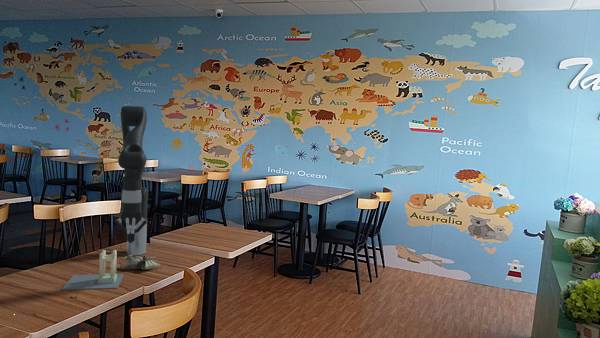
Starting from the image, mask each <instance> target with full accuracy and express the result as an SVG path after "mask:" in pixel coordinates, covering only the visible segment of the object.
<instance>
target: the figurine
mask: <svg viewBox="0 0 600 338" xmlns="http://www.w3.org/2000/svg"><path fill="white" fill-rule="evenodd" d="M155 258H156V255H155V256H151V257H148V256H146V255H144V256H143V257H142V256H141V255H129V254H127V256H124V257H123V258H122V259H123V260H124V261H129V262H127V263H125V264H121V263H119V265H120V267H119V268H120V269H122V270H135V269H137V270H140V269H141V270H142V271H149V270H153V269H155V268H156V269H157V268H159V267H162V266H163V264H162V263H159V262H157V261H156V260H154V259H155Z"/></svg>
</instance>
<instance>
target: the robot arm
mask: <svg viewBox="0 0 600 338" xmlns="http://www.w3.org/2000/svg"><path fill="white" fill-rule="evenodd" d="M147 116H148V114H147V109H146V108H145V107H144V106H137V105H123V106H122V107H121V108H120V122H121V132H122V151H120V153H119V155H118V160H117V162H118V166H119V167H120V168H121V169H123V170H124V176H123V177H122V192H121V214H120V216H119V218H118V219H115V220H114V224H115V225H116V226H117V228H119V230H120V231H121V232H122V233H123V234H126V254H127V255H128V254H129V255H132V256H141V255H145V254H146V253H147V238H148V237H147V233H148V232H147V231H148V230H147V229H148V228H147V227H148V200H149V191H148V188H147V187H144V186H143V187H142V179H143V178H142V177H143V175H144V170H145V167H146V164H147V155H146V154H145V152H144V149H143V139H144V135H145V131H146V128H147V127H146V125H147V121H148V119H147V118H148V117H147ZM130 127H133V128H132V129H131V128H130ZM122 222H123V223H122ZM125 226H126V227H125Z"/></svg>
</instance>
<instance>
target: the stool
mask: <svg viewBox="0 0 600 338" xmlns="http://www.w3.org/2000/svg"><path fill="white" fill-rule="evenodd" d="M106 253H107V252H106V249H105V250H104V249H103V250H101V253H99V260H98V261H99V265H98V266H99V272H98V273H99V279H98V284H99V283H115V281H116V279H117V274H118V273H117V258H118V257H117V255H118V254H117V250H116V249H113V250H112V252H111V253H110V254H106ZM106 262H110V273H106Z"/></svg>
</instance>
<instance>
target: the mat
mask: <svg viewBox="0 0 600 338" xmlns="http://www.w3.org/2000/svg"><path fill="white" fill-rule="evenodd" d="M124 276H125V274H124V273H117V279H116V281H115V283H99V284H98V279H99V274H72V275H71V277H70V278H69V280H67V282H66V283H65V285H64V286H63V287H62V288H61V290H62V291H69V290H70V291H75V290H77V291H78V290H106V289H108V290H110V289H118V288H119V287H120V284H121V282H122V280H123V277H124Z"/></svg>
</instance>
